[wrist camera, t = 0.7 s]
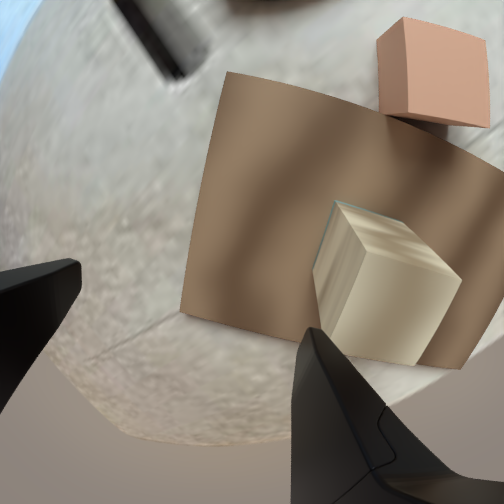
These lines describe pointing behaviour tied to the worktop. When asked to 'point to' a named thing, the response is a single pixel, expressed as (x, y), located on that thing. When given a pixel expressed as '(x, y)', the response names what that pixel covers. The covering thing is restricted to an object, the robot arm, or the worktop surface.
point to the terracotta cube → (433, 74)
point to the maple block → (379, 286)
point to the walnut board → (320, 205)
